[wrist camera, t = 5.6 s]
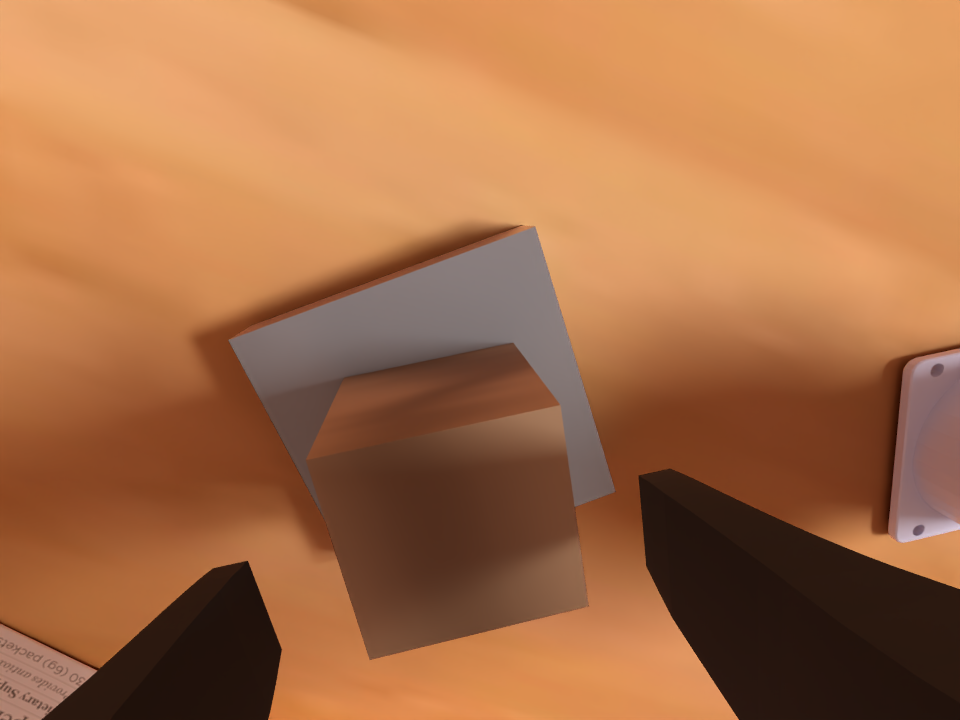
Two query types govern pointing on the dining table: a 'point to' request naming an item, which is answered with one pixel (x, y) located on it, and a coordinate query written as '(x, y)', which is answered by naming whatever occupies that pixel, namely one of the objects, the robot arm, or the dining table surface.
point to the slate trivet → (425, 343)
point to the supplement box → (34, 677)
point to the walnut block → (449, 499)
